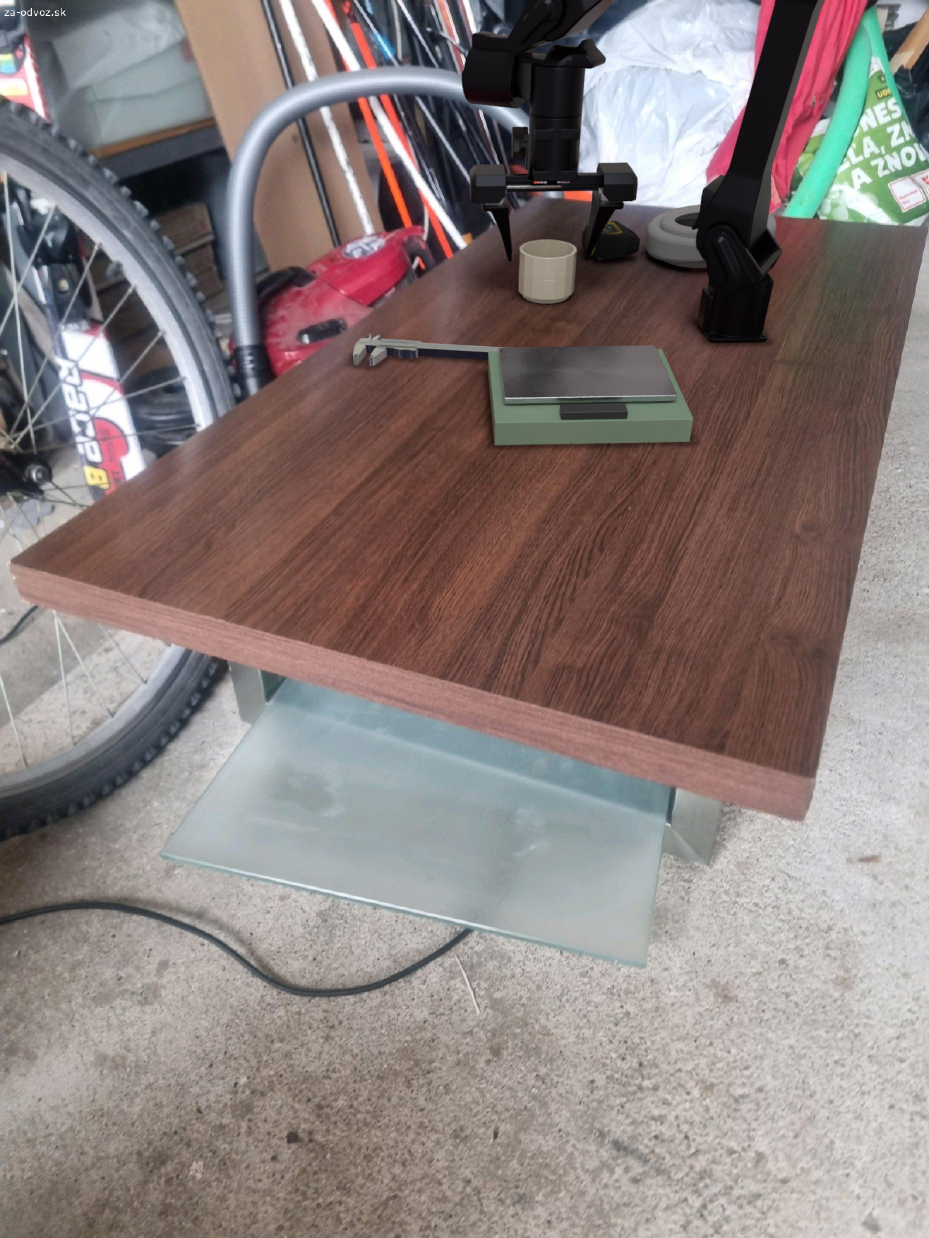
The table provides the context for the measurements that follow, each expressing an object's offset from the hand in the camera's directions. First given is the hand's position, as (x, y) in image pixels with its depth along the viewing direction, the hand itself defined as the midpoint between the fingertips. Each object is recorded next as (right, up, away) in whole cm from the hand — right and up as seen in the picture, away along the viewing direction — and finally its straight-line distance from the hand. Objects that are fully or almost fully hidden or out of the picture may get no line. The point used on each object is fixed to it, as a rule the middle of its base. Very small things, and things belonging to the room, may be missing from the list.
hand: (547, 260), depth 104 cm
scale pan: (+2, -20, -20) cm, 28 cm away
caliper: (-12, -16, -12) cm, 23 cm away
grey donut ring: (+23, +5, +12) cm, 26 cm away
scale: (+2, -22, -19) cm, 29 cm away
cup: (0, -3, +3) cm, 4 cm away
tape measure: (+10, +6, +14) cm, 18 cm away
